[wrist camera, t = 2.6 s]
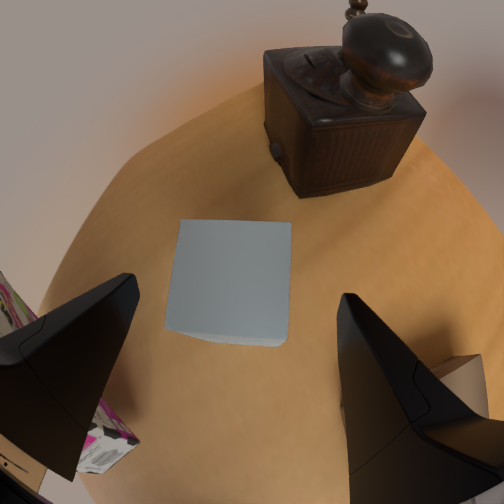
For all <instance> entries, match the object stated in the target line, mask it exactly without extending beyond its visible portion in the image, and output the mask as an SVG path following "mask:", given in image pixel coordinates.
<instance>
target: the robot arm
mask: <svg viewBox="0 0 504 504" xmlns="http://www.w3.org/2000/svg"><path fill="white" fill-rule="evenodd" d="M139 298H140V292H139V288H138V284H137V280H136V276H135V275H134V274H132V273H122V274H120V275H118V276H116V277H114V278H112V279H110V280H108V281H107V282H105V283H103V284H101V285H99V286H97V287H95V288H93V289H91V290H89V291H88V292H86V293H84V294H82V295H80V296H78V297H76V298H74V299H73V300H71V301H69V302H67V303H65V304H63V305H62V306H60V307H58V308H56V309H54V310H53V311H51V312H49V313H47V315H46V314H45V315H44V316H42V317H40V318H38V319H36V320H35V321H33V322H31V323H29V324H27V325H25V326H23V327H21V328H19V329H17V330H15V331H13V332H11V333H9V334H7V335H5V336H3V337H1V338H0V504H53V503H51V502H50V501H48V500H47V499H45V498H44V497H42V496H41V495H39V494H38V492H39V489H40V486H41V484H42V481H43V479H44V476H45V474H46V471H47V469H50V470H52V471H53V472H55V473H57V474H58V475H60V476H62V477H64V478H65V479H67V480H69V481H71V482H73V479H74V476H75V473H76V469H77V466H78V463H79V460H80V456H81V453H82V450H83V447H84V444H85V441H86V438H87V435H88V432H89V429H90V426H91V423H92V420H93V418H94V415H95V412H96V409H97V407H98V404H99V401H100V399H101V396H102V394H103V391H104V389H105V386H106V384H107V381H108V379H109V376H110V374H111V371H112V369H113V366H114V364H115V362H116V359H117V357H118V355H119V352H120V350H121V348H122V346H123V343H124V341H125V339H126V336H127V334H128V331H129V328H130V325H131V322H132V319H133V316H134V313H135V310H136V307H137V305H138V302H139ZM337 345H338V365H339V372H340V380H341V388H342V396H343V405H344V415H345V425H346V437H347V449H348V464H349V487H350V504H504V421H500V420H493V419H488V418H485V417H482V416H480V415H478V414H477V413H475V412H474V411H473V410H472V409H471V408H470V407H468V406H467V405H466V404H465V403H464V402H463V401H462V400H461V399H460V398H459V397H458V396H457V395H455V394H454V393H453V392H452V391H451V390H450V389H449V388H448V387H447V386H446V385H445V384H444V383H442V382H441V381H440V380H439V379H438V378H437V377H436V376H435V375H434V374H433V373H432V372H431V371H430V370H429V369H428V368H427V367H426V365H425V364H424V363H423V362H422V361H421V360H420V359H418V357H417V356H416V355H415V354H414V353H413V352H412V351H411V350H410V348H409V347H408V346H407V345H406V344H405V343H404V342H403V341H402V340H401V339H400V338H399V337H398V336H397V335H396V334H395V333H394V332H393V331H392V330H391V329H390V328H389V327H388V326H387V325H386V324H385V323H384V322H383V320H382V319H381V318H380V317H379V316H378V315H377V314H376V313H375V312H374V311H373V310H372V309H371V308H370V307H369V306H368V305H367V304H366V303H365V302H364V301H363V300H362V299H361V298H360V297H359V296H358V295H356V294H355V293H344V294H343V295H342V297H341V301H340V304H339V308H338V312H337Z"/></svg>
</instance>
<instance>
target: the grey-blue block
mask: <svg viewBox="0 0 504 504" xmlns="http://www.w3.org/2000/svg"><path fill="white" fill-rule="evenodd" d="M290 267H291V223H290V222H267V221H241V220H206V219H181V223H180V228H179V233H178V239H177V245H176V250H175V256H174V262H173V268H172V275H171V281H170V288H169V295H168V303H167V310H166V318H165V327H164V329H167V330H170V331H174V332H177V333H181V334H184V335H187V336H191V337H195V338H198V339H202V340H206V341H209V342H216V343H227V344H239V345H253V346H270V347H279V346H280V345H281V344H283V343H284V342H285V341H286V340H287V339H288V320H289V296H290Z"/></svg>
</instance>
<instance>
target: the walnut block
mask: <svg viewBox="0 0 504 504" xmlns="http://www.w3.org/2000/svg"><path fill="white" fill-rule="evenodd" d="M430 371H431V372H432V373H433V374H434V375H435V376H436V377H437V378H438V379H439V380H440V381H441V382H442V383H444V384H445V385H446V386H447V387H448V388H449V389H450V390H451V391H452V392H453V393H454V394H455V395H457V396H458V397H459V398H460V399H461V400H462V401H463V402H464V403H465V404H466V405H467V406H468V407H470V408H471V409H472V410H473V411H474V412H475V413H477V414H478V415H480V416H482V417H485V418H488V419H489V411H488V399H487V390H486V382H485V375H484V369H483V363H482V357H481V354H475V355H466V356H457V357H452V358H450V359H448V360H447V361H445V362H443V363H441V364H439V365H437V366H435V367H434V368H432V369H430ZM340 410H341V415H342V419H343V424H344V428H345V433H346V425H345V415H344V406H342V407H340Z"/></svg>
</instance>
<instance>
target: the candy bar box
mask: <svg viewBox="0 0 504 504" xmlns="http://www.w3.org/2000/svg"><path fill="white" fill-rule="evenodd" d="M36 319H38V317H37V316H36V315H35V314H34V313H33V312H32V311H31V309H30V308H29V307H28V306H27V305H26V304H25V303H24V301H23V300H22V299H21V298H20V297H19V295H18V294H17V293H16V292H15V291H14V289H13V288H12V286H11V285H10V284H9V283H8V281H7V280H6V278H5V277H4V276H3V274H2V273H1V271H0V338H1V337H3V336H5V335H7V334H9V333H11V332H13V331H15V330H17V329H19V328H21V327H23V326H25V325H27V324H29V323H31V322H33V321H35V320H36ZM139 443H140V441H139V439H138V438H137V437H136V436H135V435H134V434H133V433H132V432H131V431H130V430H129V429H128V428H127V427H126V425H125V424H124V423H123V422H122V421H121V420H120V418H119V417H118V416H117V415H116V414H115V413H114V411H113V410H112V409H111V408H110V407H109V405H108V404H107V403H106V402H105V400H104V399H103V398H102V396H101V399H100V401H99V404H98V407H97V409H96V412H95V415H94V418H93V420H92V423H91V426H90V429H89V432H88V435H87V438H86V441H85V444H84V447H83V450H82V453H81V456H80V460H79V463H78V466H77V469H76V472H85V473H94V474H104V473H105V472H106V471H107V470H109V469H110V468H111V467H112V466H113V465H114V464H115V463H116V462H118V461H119V460H120V459H121V458H123V457H124V456H125V455H126V454H128V453H129V452H130V451H132V450H133V449H134V448H135V447H136V446H137V445H138V444H139Z"/></svg>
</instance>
